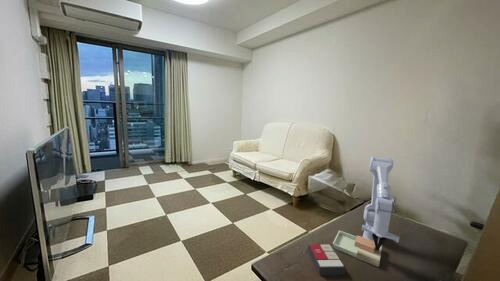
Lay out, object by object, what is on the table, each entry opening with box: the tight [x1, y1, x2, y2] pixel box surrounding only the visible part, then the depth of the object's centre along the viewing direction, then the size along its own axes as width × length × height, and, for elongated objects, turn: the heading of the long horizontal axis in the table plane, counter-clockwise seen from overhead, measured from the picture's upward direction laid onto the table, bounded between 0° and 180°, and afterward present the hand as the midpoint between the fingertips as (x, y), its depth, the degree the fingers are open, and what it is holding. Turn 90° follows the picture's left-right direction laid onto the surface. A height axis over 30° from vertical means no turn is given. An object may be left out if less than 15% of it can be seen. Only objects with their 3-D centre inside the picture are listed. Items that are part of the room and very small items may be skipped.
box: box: [331, 230, 358, 259], centre depth 104 cm, size 14×11×2 cm
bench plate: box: [356, 244, 383, 268], centre depth 98 cm, size 14×9×3 cm, turn 144°
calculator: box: [307, 243, 346, 276], centre depth 93 cm, size 11×4×15 cm
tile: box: [354, 235, 375, 253], centre depth 99 cm, size 6×8×2 cm
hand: (377, 249), depth 96 cm, fingers closed
